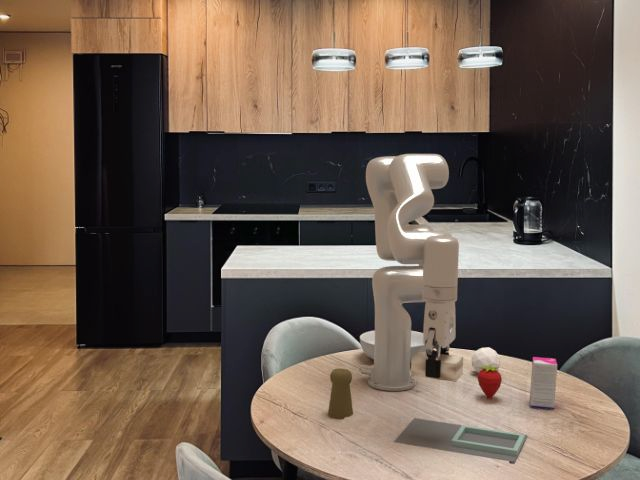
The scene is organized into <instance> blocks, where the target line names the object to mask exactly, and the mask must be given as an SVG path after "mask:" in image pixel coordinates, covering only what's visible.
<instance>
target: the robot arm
mask: <svg viewBox="0 0 640 480" xmlns="http://www.w3.org/2000/svg"><path fill="white" fill-rule="evenodd" d="M449 172H450V171H449V165H448V163H447V161H446V159H445V158H444V157H443V156H442V155H441V154H438V153H404V154H399V155H396V156H395V155H393V156H392V155H391V156H379V157H375V158H373V159H372V158H371V160H369V162H368V163H367V165H366V170H365V183H366V187H367V191H368V195H369V197H370V199H371V203H372V206H373V211H374V226H375V227H374V229H375V246H376V253H377V255H378V257H379V258H380V259H381V260H382V261H383V260H384V261H389V262H397V263H399V264H401V265H390V266H388V265H386V266H383V267H380V268H379V269H377V270H376V271H374V273H373V275H372V279H371V284H372V285H371V286H372V292H373V293H372V295H373V301H374V331H375V345H374V359H373V364H371V365H367V364H360V365H359V368H358V369H359V372H360V374H361V375H362V374H363V375H369V377H368V378H367V385H368V386H370V387H371V388H373V389H377V390H381V391H387V392H401V391H408V390H410V389H414V387H415V386H416V379H415V378H414V376H411V362H410V351H411V331H412V318H411V315H410V314H409V312H408V311H407V310H406V309H405V308H404V306H403V304H404V303H406V304H407V303H425V305H424V314H423V315H424V318H423V332H422V333H423V342H424V344H425V345H426V347H425V349H426V370H425V376H426V377H431V378H440V371H441V360H439V358H440V354H444V355H450V344H452V342H453V341H455V339H456V336H457V335H456V332H457V331H456V328H457V327H456V302H457V300H458V282H459V281H458V278H459V254H460V250H459V249H460V245H459V241H458V238H456V237H454V236H453V235H452V234H451V233H450V232H449V231H445V230H434V229H433V227H431V226H430V225H428V224H427V225H426V224H409V223H411V222H413V221H415V220H418V219H420V218H421V217H423V216H425V215H427V214H428V213H430V211H431V210H432V208H433V207H434V205H435V197H434V194H433V191H432V190H437V189H442V188H444V187H446V185H447V183H448V181H449V178H450V176H449V175H450V173H449ZM434 344H435V345H434ZM431 378H430V379H431Z"/></svg>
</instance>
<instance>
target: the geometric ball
mask: <svg viewBox="0 0 640 480" xmlns="http://www.w3.org/2000/svg"><path fill="white" fill-rule="evenodd" d="M489 363H490V364H491V365H490V364H489ZM489 365H490V366H491V367H498V368H497V370H499V369H500V366H501V357H500V355H499V354H498V353H497V351H496V350H494V349H493V348H491V347H481V348H478V349H477V350H475V351H474V353H473V355H472V356H471V367H472V368H473V369H474V371H475V372H476V373H477V374H478V373H479V372H480V371H481V370H482V369H481V368H478V367H487V368H488V366H489Z"/></svg>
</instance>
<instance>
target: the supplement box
mask: <svg viewBox="0 0 640 480" xmlns="http://www.w3.org/2000/svg"><path fill="white" fill-rule="evenodd" d="M531 365H532V366H531V380H530V390H529V408H531V409H542V410H555V402H556V401H555V400H556V389H557V376H558V363H557V359H556V358H551V357H541V356H540V357H538V356H533V357H532V364H531Z"/></svg>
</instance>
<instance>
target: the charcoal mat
mask: <svg viewBox="0 0 640 480" xmlns="http://www.w3.org/2000/svg"><path fill="white" fill-rule="evenodd" d="M462 425H463V424H456V423H448V422H444V421H436V420H429V419H423V418H416V417H414V418H413V419H412V420H411V421H410V423H408V425H406V426H405V428H404V429H403V430H402V431H401V433H399V435H398V436H397V437H396V438H395V439H394V440H393V442H394V443H396V444H397V443H398V444H404V445H408V446H409V445H411V446H415V447H422V448H428V449H435V450H439V451H446V452H453V453H459V454H462V455H463V454H464V455H471V456H477V457H482V458H483V457H484V458H489V459H495V460H501V461H506V462H508V463H509V464H515V463H516V460H517V459H518V458H519V455H520V453H521V451H522V449H523V446H524V444H525V442H526V439H528V435H527V434H524V435H525V441H524V443H523V445H522V447H521V449H520V451H519V453H518V455H517V456H511V455H505V454H499V453H493V452H487V451H481V450H474V449H468V448H462V447H456V446H451V440H452V439H453V437H454V436H455V435H456V433H457V432H458V430H459V429H460V427H461V426H462ZM460 440H463V441H470V442H476V443H482V444H488V445H495V446H501V447H507V448H514V446H515V444H516V442H517V440H512V439H505V438H499V437H492V436H486V435H480V434H473V433H467V432H465V433H464V435H463V436H462V438H461V439H460Z"/></svg>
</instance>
